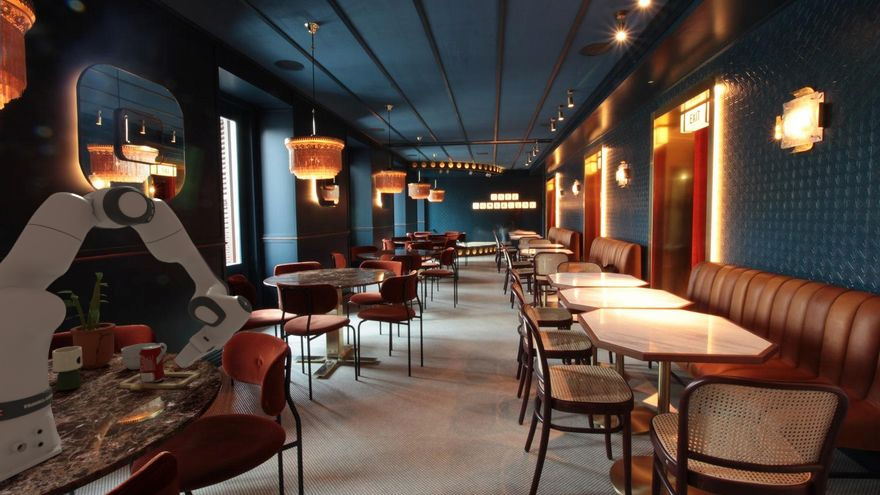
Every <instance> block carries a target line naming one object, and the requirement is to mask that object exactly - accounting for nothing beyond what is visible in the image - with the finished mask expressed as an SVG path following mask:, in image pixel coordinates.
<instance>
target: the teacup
mask: <svg viewBox="0 0 880 495" xmlns="http://www.w3.org/2000/svg"><path fill="white" fill-rule="evenodd" d="M150 344H156V343H155V342H146V343H137V344H132V345H129V346H124V347H123V348H121V349H120V351H121V358H122V365H123V366H124V367H125V368H127V369H129V370H131V371H132V370H140V360H139V353H140V351H141V350H142V349H141V347H143V346H145V345H150ZM159 344H160V345H161V347H163V353H164V354H165V353H166V351H167V350H168V349H167V347H168V346H167V345H166V344H165V343H163V342H159Z"/></svg>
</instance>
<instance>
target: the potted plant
mask: <svg viewBox="0 0 880 495" xmlns="http://www.w3.org/2000/svg"><path fill="white" fill-rule="evenodd" d="M95 275H96V282H95V285H94V291H93V296H92V297H91V300H90V301H88V303H89V304H90V305H89V310H88V314H87V321H86V319H85V315H84V313H83V311H82V308H81V305H80V302H79V300H78V298H79V296H77V295H76V294H74V293H73V291H72V290H62V291H59V292H57V294H61V293H67V294H69V293H70V294H71V295H70V298H71V300H72V301H71V300H69V299H64V300H62V301H63V302H64V304H65V307H66V308H67V307H75V306H76V309H77V312H78V315H76V317H78V316H79V318H80V322H81V325H79V326H74V327H73V328H71V329H69V331H70V334H71V335H72V345H73V346H79V347H82V366H81V367H80V368H82V369H86V370H94V369H95V370H96V369H98V368H103V367H105V366H106V365H107V364H109V363H110V362H111V360H112V359H113V357H114V352H115V333H114V330H115V329H116V323H112V322H100V305H101V303H102V302H103V303H108V301H106V300H101V299H100V297H101V296H105V297H107V295H105V294H103V293H102V294H101V286H105V287H108V285H107V284H108V282H107V283H105V282H104V283H103V282H102V283H101V280H102V278H103V272H95ZM73 317H75V316H70V317H67V318H66V320H69V319H72V318H73ZM73 346H72V347H73Z"/></svg>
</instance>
